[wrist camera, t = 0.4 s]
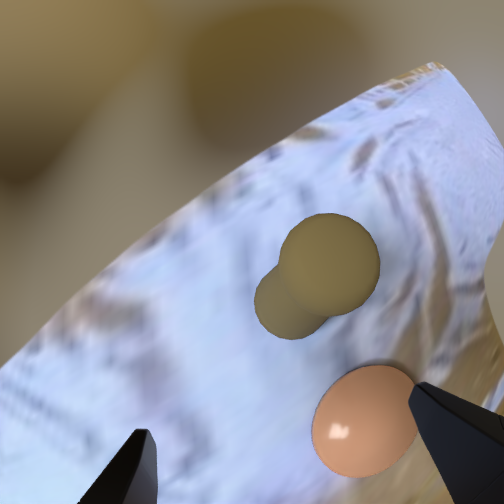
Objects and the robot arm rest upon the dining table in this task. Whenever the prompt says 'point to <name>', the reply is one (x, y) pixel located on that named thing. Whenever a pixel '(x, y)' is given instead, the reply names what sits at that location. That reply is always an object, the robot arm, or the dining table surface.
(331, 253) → the cork
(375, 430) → the peach round disc
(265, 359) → the dining table surface
